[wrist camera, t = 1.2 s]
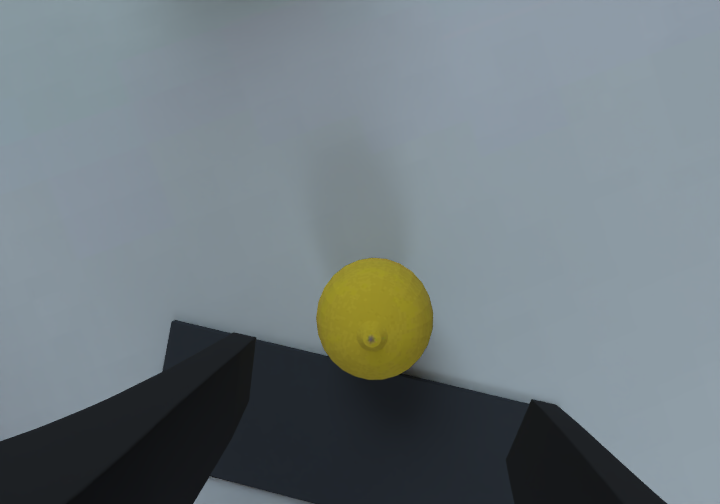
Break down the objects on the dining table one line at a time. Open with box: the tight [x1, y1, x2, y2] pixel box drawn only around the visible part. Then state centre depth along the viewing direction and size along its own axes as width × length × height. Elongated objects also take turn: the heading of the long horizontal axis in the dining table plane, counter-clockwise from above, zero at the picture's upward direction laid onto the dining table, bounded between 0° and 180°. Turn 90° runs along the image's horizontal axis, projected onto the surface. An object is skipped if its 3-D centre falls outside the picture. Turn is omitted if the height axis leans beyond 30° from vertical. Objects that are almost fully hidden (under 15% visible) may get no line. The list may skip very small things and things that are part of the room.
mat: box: [162, 320, 529, 504], centre depth 21 cm, size 9×24×1 cm, turn 78°
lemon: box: [316, 258, 433, 380], centre depth 17 cm, size 6×6×8 cm
